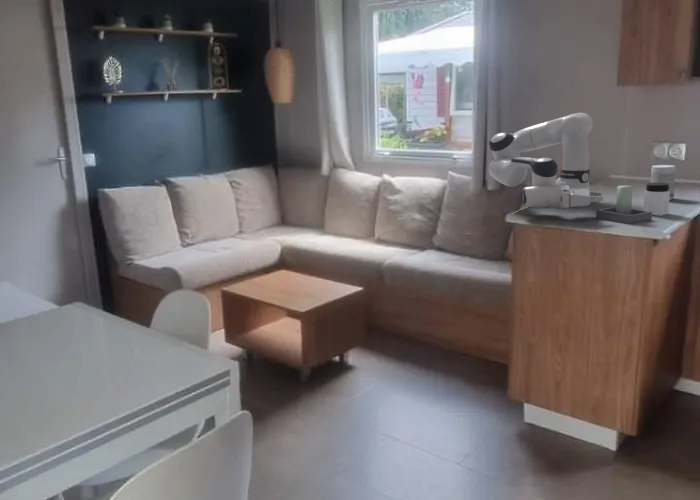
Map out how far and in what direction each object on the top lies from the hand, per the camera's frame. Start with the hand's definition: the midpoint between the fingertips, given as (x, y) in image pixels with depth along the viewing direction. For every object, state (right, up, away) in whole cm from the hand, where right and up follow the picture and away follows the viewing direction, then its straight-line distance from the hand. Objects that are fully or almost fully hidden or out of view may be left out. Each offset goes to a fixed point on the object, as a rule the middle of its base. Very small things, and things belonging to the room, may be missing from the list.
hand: (602, 196), depth 253 cm
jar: (+24, -7, +6) cm, 25 cm away
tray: (+8, -9, 0) cm, 12 cm away
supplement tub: (+41, +2, +37) cm, 56 cm away
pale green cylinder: (+8, -8, 0) cm, 11 cm away
